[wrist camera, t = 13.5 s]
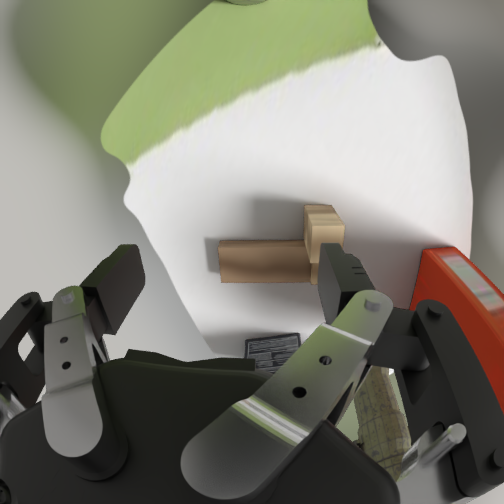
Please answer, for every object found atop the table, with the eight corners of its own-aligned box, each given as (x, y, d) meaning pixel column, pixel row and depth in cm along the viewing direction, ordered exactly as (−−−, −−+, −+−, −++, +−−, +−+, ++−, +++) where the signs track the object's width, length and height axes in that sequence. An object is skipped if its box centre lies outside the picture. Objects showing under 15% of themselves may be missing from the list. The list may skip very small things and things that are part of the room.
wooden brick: (304, 205, 39) (312, 225, 32) (331, 205, 39) (345, 226, 32) (301, 271, 44) (307, 301, 37) (325, 270, 44) (335, 300, 37)
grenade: (385, 362, 54) (424, 500, 23) (336, 373, 56) (357, 520, 25) (390, 336, 51) (442, 490, 19) (335, 347, 52) (364, 515, 21)
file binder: (456, 246, 41) (562, 371, 12) (435, 319, 48) (497, 443, 20) (422, 249, 41) (530, 394, 13) (403, 325, 49) (460, 462, 21)
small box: (251, 360, 55) (248, 401, 46) (244, 339, 52) (240, 382, 43) (303, 354, 53) (307, 395, 44) (299, 331, 51) (304, 375, 41)
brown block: (220, 240, 43) (217, 247, 40) (331, 240, 42) (335, 247, 39) (223, 274, 45) (221, 282, 43) (328, 273, 44) (331, 281, 42)
